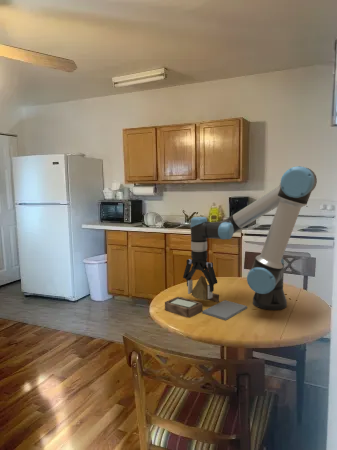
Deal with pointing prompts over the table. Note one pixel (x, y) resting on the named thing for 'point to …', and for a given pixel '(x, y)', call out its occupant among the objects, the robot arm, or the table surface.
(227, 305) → the board
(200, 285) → the rock
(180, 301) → the pale grey-green block
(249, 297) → the table surface
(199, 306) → the brown frame and bar
